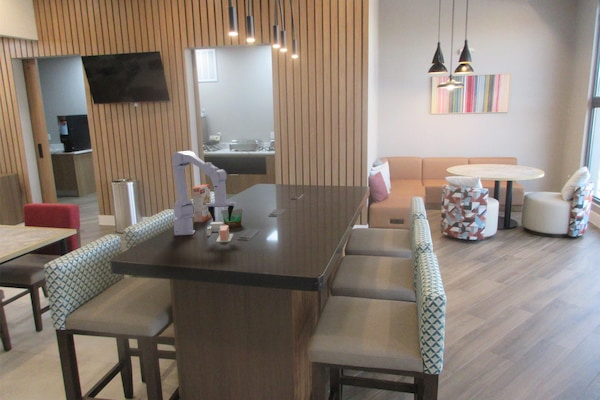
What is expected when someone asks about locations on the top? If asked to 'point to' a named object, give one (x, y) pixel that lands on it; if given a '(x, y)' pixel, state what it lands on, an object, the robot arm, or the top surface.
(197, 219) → the cracker box
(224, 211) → the food container
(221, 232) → the salmon pink rectangular prism
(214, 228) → the white u-shaped piece
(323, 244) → the top surface
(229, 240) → the white rectangular board
